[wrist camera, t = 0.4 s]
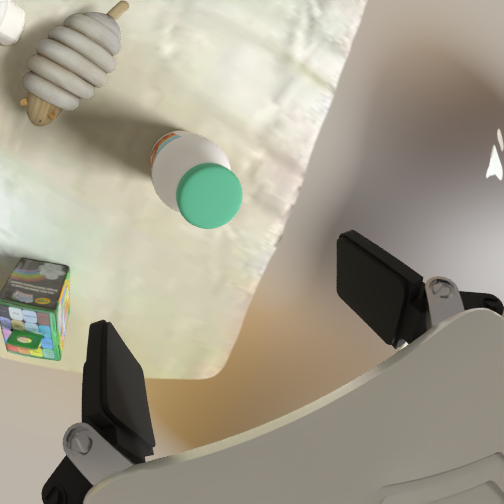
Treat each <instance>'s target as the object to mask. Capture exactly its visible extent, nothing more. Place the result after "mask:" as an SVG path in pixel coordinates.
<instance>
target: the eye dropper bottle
mask: <svg viewBox="0 0 504 504" xmlns="http://www.w3.org/2000/svg"><path fill="white" fill-rule="evenodd" d="M24 24H25V12H24V11H23V10H22V9H21V8H20V7H19V6H18V5H16V4H15V3H14V2H13V1H11V0H0V44H2V45H4V46H8V45H11V44H14V43H16V42H17V41H18V39H19V37H20V35H21V33H22V31H23V28H24Z"/></svg>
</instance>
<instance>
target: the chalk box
mask: <svg viewBox="0 0 504 504" xmlns="http://www.w3.org/2000/svg"><path fill="white" fill-rule="evenodd" d="M69 273H70V269H69V267H68V266H63V265H57V264H51V263H46V262H40V261H34V260H29V259H24V258H21V259H20V261H19V263H18V264H17V266H16V267H15V269H14V271H13V272H12V274H11V275H10V277H9V279H8V280H7V282H6V284H5V285H4V287H3V289H2V291H1V292H0V325H1V329H2V334H3V338H4V341H5V345H6V349H7V351H8V352H11V353H15V354H20V355H25V356H30V357H35V358H42V359H49V360H56V361H59V360H61V356H62V349H63V343H64V337H65V331H66V326H67V321H68V316H69Z"/></svg>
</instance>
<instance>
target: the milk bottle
mask: <svg viewBox="0 0 504 504" xmlns="http://www.w3.org/2000/svg"><path fill="white" fill-rule="evenodd" d="M150 172H151V178H152V183H153V186H154V189H155V191H156V193H157V195H158V196H159V198H160V199H161V200H162V201H163V202H164V203H165V204H166V205H167V206H168V207H170V208H171V209H173V210H175V211H177V212H180V213H181V214H182V216H183V217H184V218H185V219H186V220H187V221H188V222H189V223H190V224H192V225H194V226H196V227H199V228H204V229H212V228H217V227H220V226H222V225H224V224H226V223H227V222H229V221H230V220H231V219H232V218H233V217H234V216H235V215H236V213H237V212H238V210H239V208H240V205H241V202H242V188H241V185H240V182H239V180H238V178H237V177H236V176H235V174H234V173H233V172H231V168H230V164H229V161H228V159H227V157H226V155H225V153H224V152H223V150H222V149H221V148H220V147H219V146H218V145H217V144H216V143H214V142H213V141H211V140H209V139H208V138H206V137H203V136H201V135H198V134H195V133H191V132H188V131H173V132H170V133H167V134H165V135H164V136H162V137H161V138H160V139H159V140H158V141H157V142H156V143H155V145H154V146H153V148H152V150H151V154H150Z"/></svg>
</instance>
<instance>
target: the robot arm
mask: <svg viewBox="0 0 504 504" xmlns="http://www.w3.org/2000/svg"><path fill="white" fill-rule="evenodd" d="M422 281H423V277H422V276H421V275H419V274H418V273H417V272H415V271H414V270H412V269H411V268H410V267H408V266H407V265H405V264H404V263H403V262H401V261H400V260H398V259H397V258H395V257H394V256H392V255H391V254H389V253H388V252H386V251H385V250H383V249H382V248H380V247H379V246H378V245H376V244H374V243H373V242H371V241H370V240H368V239H367V238H365V237H364V236H362V235H360V234H359V233H357V232H356V231H354V230H350V231H347V232H345V233H342V234H341V235H340V236H339V239H338V240H337V293H338V295H339V296H340V298H341V299H342V300H343V301H344V302H345V303H346V304H347V305H349V307H350V308H351V309H352V310H354V311H355V312H356V313H357V314H358V315H359V316H360V317H361V318H362V319H363V320H364V321H365V322H366V323H367V324H368V325H369V326H370V327H371V328H372V329H373V330H374V331H375V332H376V333H377V334H378V336H380V337H381V338H382V340H384V342H385V343H387V344H388V345H392V346H393V347H394V348H395V349H397V348H398V347H400V346H401V345H403V344H404V343H405V341H406V342H407V343H408V344H409V345H407V346H406V347H404V348H403V349H401V350H400V351H399V352H397V353H396V354H394V355H393V356H392V357H390V358H388V359H387V360H385V361H384V362H382V363H381V364H379V365H377V366H376V367H374V368H373V369H371V370H369V371H368V372H366V373H364V374H363V375H361V376H360V377H358V378H356V379H355V380H353V381H351V382H349V383H347V384H346V385H344V386H342V387H340V388H339V389H337V390H335V391H333V392H331V393H329V394H328V395H326V396H324V397H322V398H320V399H318V400H316V401H314V402H312V403H310V404H308V405H306V406H304V407H302V408H300V409H297V410H296V411H293V412H291V413H289V414H287V415H284V416H282V417H280V418H278V419H275V420H273V421H271V422H268V423H266V424H263V425H261V426H259V427H256V428H254V429H251V430H248V431H246V432H243V433H240V434H238V435H235V436H232V437H230V438H226V439H224V440H221V441H218V442H215V443H212V444H208V445H205V446H202V447H199V448H195V449H192V450H189V451H186V452H182V453H178V454H175V455H171V456H167V457H163V458H159V459H155V460H152V461H148V462H145V456H150V455H154V453H153V448H152V447H155V439H154V434H153V429H152V424H151V419H150V413H149V407H148V402H147V395H146V389H145V382H144V374H143V370H142V368H141V366H140V364H139V363H138V362H137V360H136V359H135V357H134V356H133V355H132V353H131V352H130V350H129V349H128V347H127V346H126V345H125V343H124V342H123V340H122V339H121V337H120V336H119V334H118V333H117V331H116V330H115V328H114V326H113V325H112V323H111V322H106V321H105V320H101V321H98V322H95V323H92V324H90V328H89V337H88V346H87V358H86V362H85V364H84V367H83V383H82V423H76V424H74V425H72V426H71V427H69V428H68V430H67V431H66V433H65V435H64V438H63V448H64V451H65V453H66V456H65V458H64V459H63V460H62V462H61V463H60V464H59V466H58V467H57V468H56V470H55V471H54V472H53V474H52V475H51V477H50V478H49V479H48V481H47V482H46V483H45V485H44V487H43V489H42V500H43V503H44V504H504V307H503V304H502V302H501V301H500V300H499V299H498V298H497V297H496V296H494V295H492V294H487V293H475V292H462V291H459V290H458V288H457V286H456V284H455V283H454V282H452V281H451V280H450V279H448V278H445V277H439V276H437V277H432V278H430V279H429V280H427V282H426V284H425V283H424V282H422Z"/></svg>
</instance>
